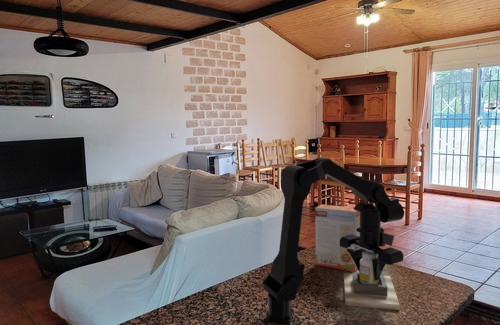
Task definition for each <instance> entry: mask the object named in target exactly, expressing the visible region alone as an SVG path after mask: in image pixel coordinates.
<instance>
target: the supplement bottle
mask: <svg viewBox="0 0 500 325" xmlns="http://www.w3.org/2000/svg"><path fill="white" fill-rule="evenodd" d="M362 257H363V258H362V259H361V260H360V284H372V285H379V280H375V277H374V271H373V264H372V259H375V258H377V254H375V253H372V252H369V251H367V250H366V251H363V252H362Z"/></svg>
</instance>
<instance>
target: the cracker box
mask: <svg viewBox="0 0 500 325" xmlns="http://www.w3.org/2000/svg"><path fill="white" fill-rule="evenodd" d="M314 211H315V218H314V219H315V265H316V266H320V267H326V268H332V269H336V270H341V271H347V272H351V273H353V272H357V271H358V269H357V266H356V264H355V262H354V260H353V259H352V257H351V255H350V253H349V252H348V251H347V249H349V247H348V248H344V247H341V246H340V239H341V237H343V236H347V235H351V234H353V235H356V236H359V237H360V232H357V228H358V227H360V212H359V211H356V210H354V207H351V206H342V205H332V204H331V205H330V204H320V205H318V206H316V207H315V210H314Z"/></svg>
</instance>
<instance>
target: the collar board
mask: <svg viewBox="0 0 500 325" xmlns="http://www.w3.org/2000/svg"><path fill="white" fill-rule="evenodd" d="M391 278H392V277H391V275H385V274H384V273H381V275H380V278H379V285H372V284H360V273H359V271H355V272H351V273H348V272H344V273H343V283H344V284H343V287H344V300H345V302H344V303H345V304H344V305H345V306H346V305H347V306H348V307H360V308H372V309H383V310H396V311H400V309H401V308H400V302H399V300H398V296H397V293H396V290H395V287H394V284H393V281H392V279H391Z"/></svg>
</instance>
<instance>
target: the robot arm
mask: <svg viewBox="0 0 500 325" xmlns="http://www.w3.org/2000/svg"><path fill="white" fill-rule="evenodd" d="M324 176H326V177H328V178H330V179H331V180H333V181H335V182H337V183H338V184H341V185H342V186H344V187H347V188H348V189H349V190H350V191H351V192H352V194H353V195H354V196H355V197H357V198H358V199H359V200H362V201H365V202H369V203H364V202H362V201H359V202H358V203H357V204H356V205H355V206H354V207H353V208H354V210H356V211H359V212H360V227H358V228H357V232H360V237H359V236H356V235H353V234H351V235H347V236H343V237H341V239H340V246H341V247H344V248H348V247H349V249H347V251H348V252H349V253H350V255H351V257H352V259H353V260H354V262H355V264H356V266H357V272H359V273H360V260H361V259H362V258H363V257H362V252H363V251H369V252H372V253H375V254H377V258H375V259H372V264H373V271H374V277H375V280H379V278H380V275H381V274H383V271H384V268H385V266H386V265H390V266H391V265H395V264H398V263H400V262H403V261H404V253H403V252H402V250H400V249H397V248H394V247H392V246H393V242H394V240H395V235H393V234H390V233H387V232H385V230H384V228H383V227H381V224H383V223H385V224H387V223H390V222H391V223H392V222H397V221H401V220H402V219H403V218H404V216H405V210H404V207H403V206H402V204H401V203H400V199H399V198H397V197H389V195H388V194H387V192H386V190H385V189H386V188H385V185H383V184H381V183H380V182H375V181H373V180H369V179H365V178H362V177H360V176H359V175H357V174H355V173H353V172H351V171H350V170H348V169H346V168H344V167H342V166H341V165H339V164H338V163H336V162H333V161H332V159H331V158H326V157H321V156H320V157H319V156H318V157H316V158H314V159H311V160H307V161H304V162H300V163H297V164H288V165H286V166H285V167H284V168H283V169H281V173H280V187H281V191H282V194H283V197H284V203H283V213H282V222H281V231H280V239H279V241H280V242H279V248H278V249H279V250H278V254H277V255H276V256H275V258H274V260H273V262H272V264H271V269H270V272H269V274H268V275H267V276H266V277H265V278H264V280H263V281H262V282H261V284H262V287H263V290H264V291H265V292H267V302H268V307H267V308H268V309H267V313H266V316H265V319H264V320H265V322H266V323H274V324H275V323H276V324H286V325H291V323H292V318H293V315H294V309H292V308H291V301H294V300H295V299H296V298H297V297H296V296H297V294H298V290H299V288H300V287H301V285H302V281H304V279H305V278H304V273H305V272H304V271H305V264H304V263H303V262H301V261H300V260H299V257H298V254H299V246H300V237H301V236H300V235H301V227H302V220H303V219H302V217H303V209H304V202H305V201H306V199H307V197H308V195H309V194H310V193H311V189H312V185H313V184H314V183H316V182H318V181H320V180H321V179H323V177H324ZM386 245H388V246H389V247H386ZM381 247H386V248H381Z"/></svg>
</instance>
